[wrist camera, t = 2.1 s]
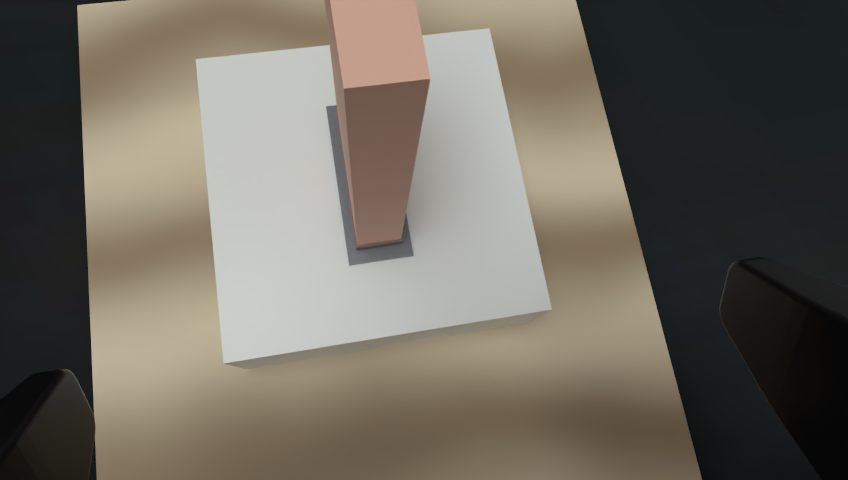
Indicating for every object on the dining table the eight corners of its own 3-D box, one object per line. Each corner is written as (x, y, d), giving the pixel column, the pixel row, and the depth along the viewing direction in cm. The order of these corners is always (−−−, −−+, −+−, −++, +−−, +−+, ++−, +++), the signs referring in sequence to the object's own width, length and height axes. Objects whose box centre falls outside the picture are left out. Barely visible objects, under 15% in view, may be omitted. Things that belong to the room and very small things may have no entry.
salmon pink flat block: (402, 242, 17) (434, 81, 9) (356, 249, 17) (340, 92, 8) (380, 108, 18) (388, -158, 9) (335, 113, 18) (303, -152, 9)
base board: (699, 503, 20) (709, 506, 19) (112, 627, 18) (103, 635, 17) (560, -30, 24) (565, -40, 24) (84, 15, 22) (77, 5, 22)
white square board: (526, 322, 20) (553, 308, 17) (245, 369, 19) (222, 363, 16) (474, 76, 22) (490, 25, 19) (219, 105, 21) (194, 56, 18)
